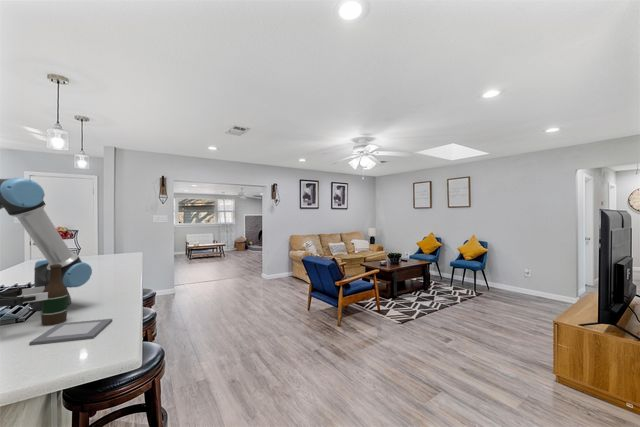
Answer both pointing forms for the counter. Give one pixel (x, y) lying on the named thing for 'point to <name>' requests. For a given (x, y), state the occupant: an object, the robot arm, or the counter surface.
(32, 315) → the counter surface
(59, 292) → the beer bottle
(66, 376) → the counter surface
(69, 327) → the picture frame
